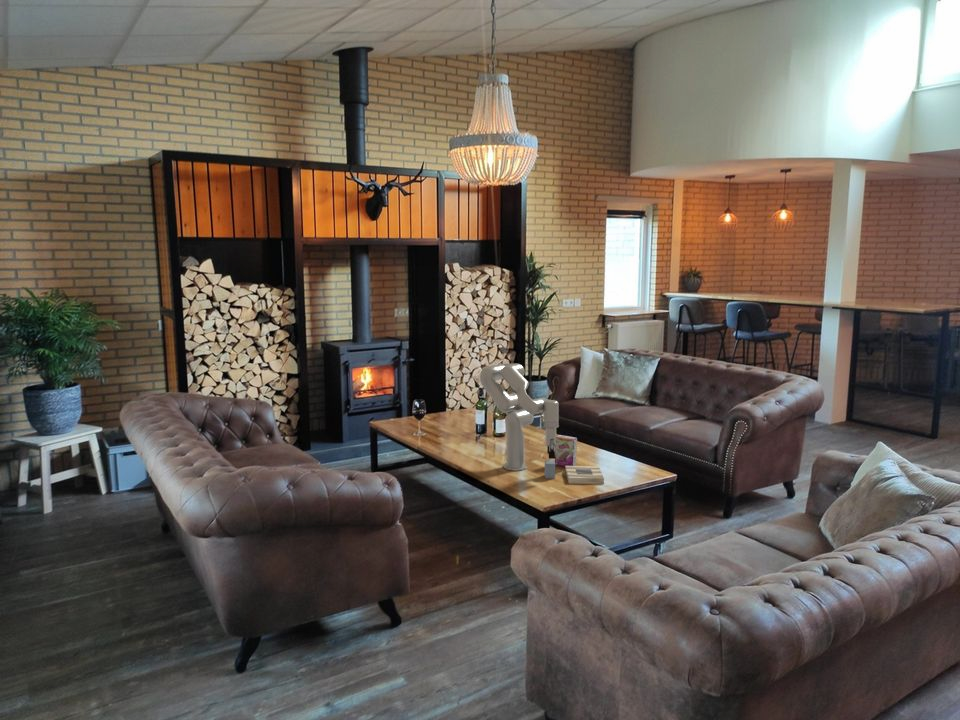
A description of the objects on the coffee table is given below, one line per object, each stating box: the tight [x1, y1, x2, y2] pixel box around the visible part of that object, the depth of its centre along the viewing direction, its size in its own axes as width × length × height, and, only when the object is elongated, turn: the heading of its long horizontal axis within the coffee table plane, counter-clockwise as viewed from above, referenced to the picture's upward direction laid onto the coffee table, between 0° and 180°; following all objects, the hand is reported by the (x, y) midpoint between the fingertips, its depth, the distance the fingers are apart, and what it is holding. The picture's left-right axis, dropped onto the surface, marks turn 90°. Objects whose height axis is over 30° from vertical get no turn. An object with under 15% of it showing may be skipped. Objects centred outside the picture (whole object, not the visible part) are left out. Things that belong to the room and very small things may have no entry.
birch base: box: [564, 465, 605, 485], centre depth 375 cm, size 20×18×3 cm
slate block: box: [544, 460, 556, 479], centre depth 375 cm, size 5×5×8 cm
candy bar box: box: [554, 434, 578, 467], centre depth 394 cm, size 11×5×16 cm, turn 59°
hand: (551, 455), depth 373 cm, fingers open, 9 cm apart
